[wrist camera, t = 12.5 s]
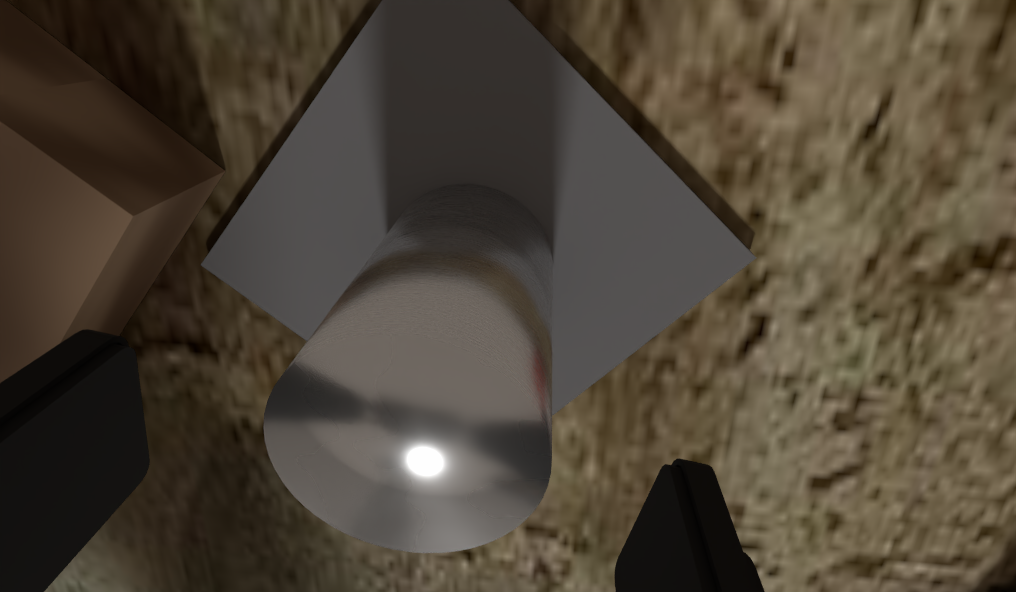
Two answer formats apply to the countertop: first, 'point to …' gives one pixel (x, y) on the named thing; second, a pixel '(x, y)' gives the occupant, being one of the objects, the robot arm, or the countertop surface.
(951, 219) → the countertop surface
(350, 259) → the mat
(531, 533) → the countertop surface
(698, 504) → the robot arm
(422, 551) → the round peg
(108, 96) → the bore block
